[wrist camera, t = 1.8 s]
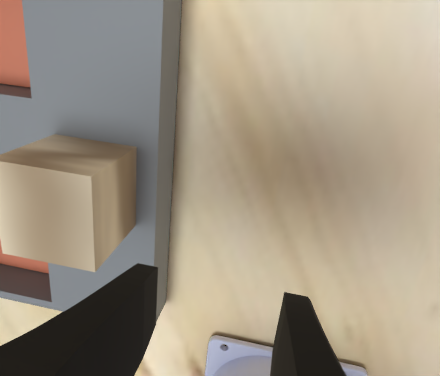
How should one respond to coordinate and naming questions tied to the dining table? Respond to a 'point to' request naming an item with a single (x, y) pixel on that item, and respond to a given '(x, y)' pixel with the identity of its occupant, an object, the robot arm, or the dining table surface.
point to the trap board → (93, 119)
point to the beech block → (67, 200)
